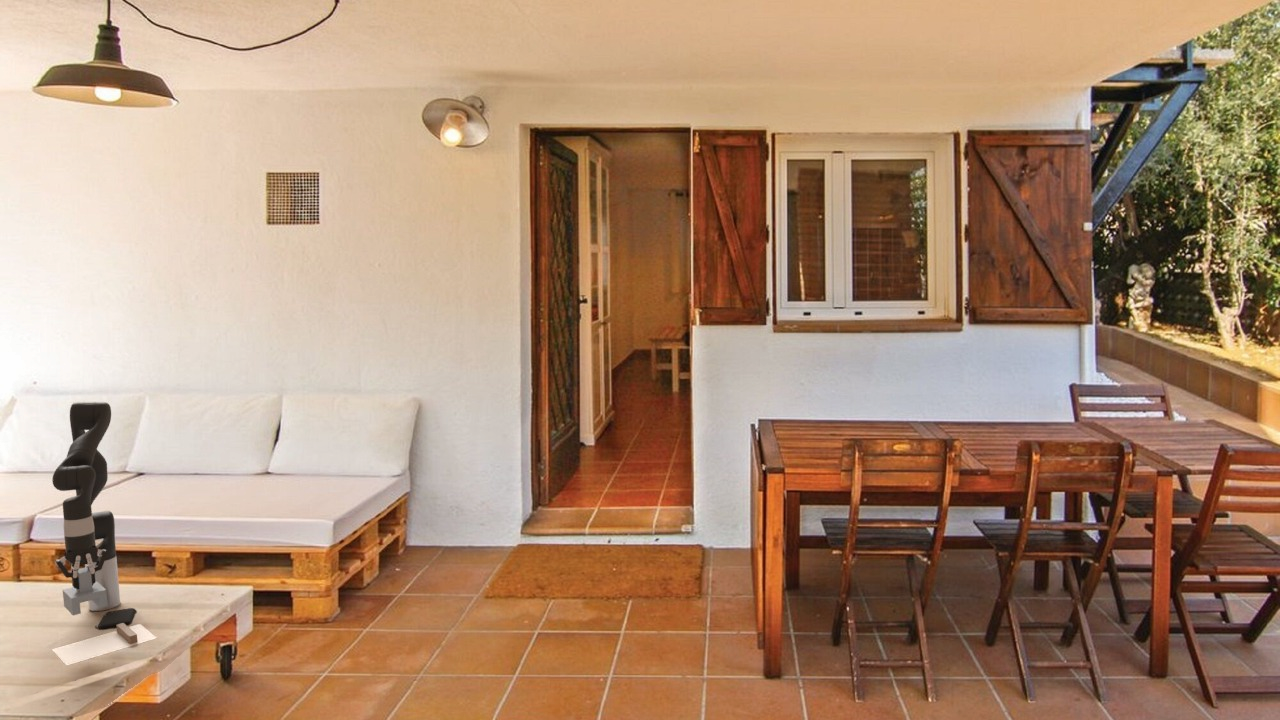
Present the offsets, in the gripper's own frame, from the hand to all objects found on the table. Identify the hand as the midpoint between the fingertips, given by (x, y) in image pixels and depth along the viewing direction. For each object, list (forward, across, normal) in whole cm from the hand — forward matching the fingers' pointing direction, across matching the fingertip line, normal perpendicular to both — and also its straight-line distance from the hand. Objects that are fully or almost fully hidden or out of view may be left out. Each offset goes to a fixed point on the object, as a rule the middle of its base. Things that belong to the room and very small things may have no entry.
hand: (84, 586), depth 252 cm
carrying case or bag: (+22, -12, -18) cm, 30 cm away
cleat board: (+21, -4, 0) cm, 21 cm away
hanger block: (+6, 0, 0) cm, 6 cm away
